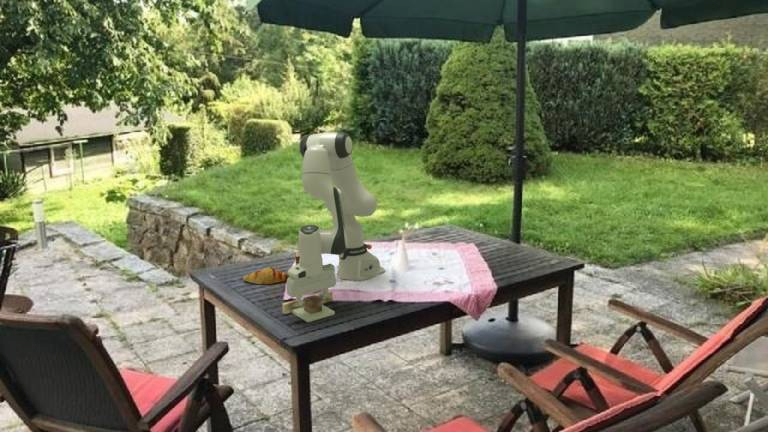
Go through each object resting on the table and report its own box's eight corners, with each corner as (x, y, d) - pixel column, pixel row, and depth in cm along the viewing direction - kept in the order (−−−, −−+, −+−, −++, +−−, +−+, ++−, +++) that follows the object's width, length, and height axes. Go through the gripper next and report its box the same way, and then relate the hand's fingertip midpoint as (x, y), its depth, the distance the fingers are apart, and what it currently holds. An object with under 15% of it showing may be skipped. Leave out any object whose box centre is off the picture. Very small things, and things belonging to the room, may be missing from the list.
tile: (318, 305, 256) (318, 302, 256) (334, 314, 247) (334, 311, 247) (291, 312, 249) (291, 309, 249) (307, 322, 240) (307, 319, 240)
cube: (315, 307, 251) (314, 294, 250) (322, 310, 248) (321, 298, 246) (304, 310, 248) (303, 297, 247) (310, 314, 245) (310, 301, 243)
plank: (330, 299, 262) (330, 290, 261) (332, 300, 261) (332, 291, 260) (282, 313, 249) (282, 303, 248) (284, 314, 248) (284, 304, 247)
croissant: (242, 291, 282) (239, 279, 277) (245, 274, 290) (242, 262, 284) (291, 289, 283) (289, 277, 277) (292, 272, 290) (290, 260, 285)
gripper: (329, 260, 252) (331, 293, 256) (283, 271, 240) (285, 306, 244) (338, 264, 247) (339, 298, 251) (291, 276, 235) (293, 311, 239)
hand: (312, 302), depth 247 cm, fingers open, 8 cm apart
